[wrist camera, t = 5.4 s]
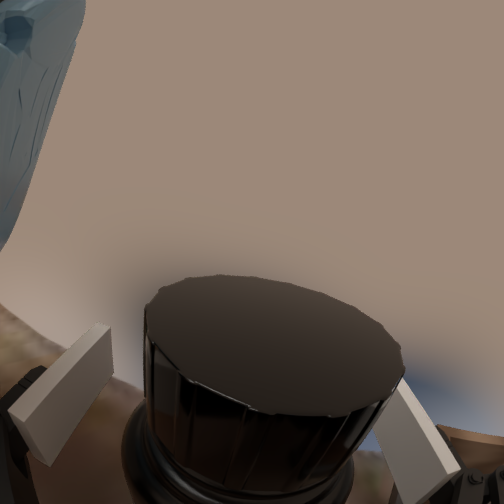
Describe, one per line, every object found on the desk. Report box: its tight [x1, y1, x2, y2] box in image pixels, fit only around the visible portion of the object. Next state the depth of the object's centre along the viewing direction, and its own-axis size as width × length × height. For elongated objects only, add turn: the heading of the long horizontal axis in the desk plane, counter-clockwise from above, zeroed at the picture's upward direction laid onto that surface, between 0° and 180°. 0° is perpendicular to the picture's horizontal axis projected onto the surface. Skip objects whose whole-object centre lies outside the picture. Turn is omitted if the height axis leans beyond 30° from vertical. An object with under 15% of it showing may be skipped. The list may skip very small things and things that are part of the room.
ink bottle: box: [121, 275, 405, 504], centre depth 8 cm, size 10×9×12 cm
